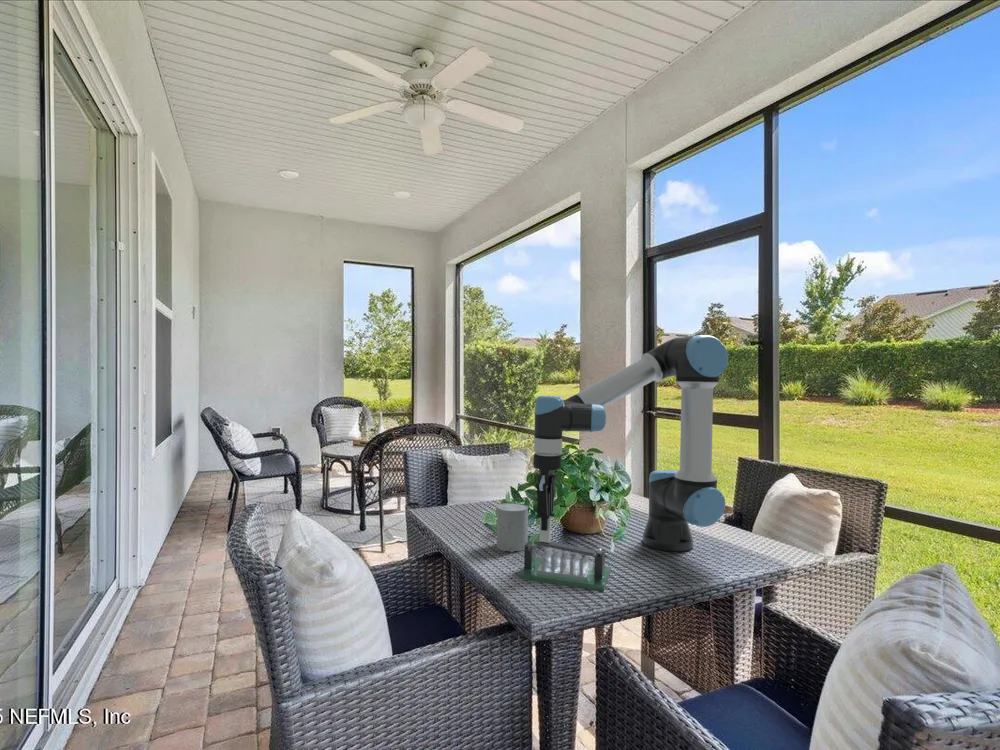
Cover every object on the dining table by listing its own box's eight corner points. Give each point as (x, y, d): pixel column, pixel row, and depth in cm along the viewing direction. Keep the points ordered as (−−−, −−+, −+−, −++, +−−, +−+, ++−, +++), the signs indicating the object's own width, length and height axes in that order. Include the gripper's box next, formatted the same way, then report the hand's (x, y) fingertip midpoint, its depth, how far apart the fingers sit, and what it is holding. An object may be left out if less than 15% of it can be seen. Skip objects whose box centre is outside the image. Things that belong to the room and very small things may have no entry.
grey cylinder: (504, 539, 166) (505, 501, 166) (532, 544, 162) (532, 505, 162) (491, 549, 157) (491, 508, 157) (520, 554, 153) (520, 512, 153)
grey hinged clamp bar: (602, 554, 136) (603, 547, 136) (600, 558, 133) (601, 551, 133) (536, 540, 142) (537, 534, 142) (533, 544, 139) (534, 537, 139)
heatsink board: (610, 571, 140) (610, 545, 140) (603, 591, 128) (604, 562, 128) (532, 561, 148) (532, 535, 148) (518, 578, 135) (518, 550, 135)
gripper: (540, 449, 147) (537, 532, 147) (527, 456, 134) (524, 546, 135) (566, 451, 144) (563, 535, 144) (555, 458, 132) (552, 550, 132)
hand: (544, 541), depth 140 cm, fingers closed
